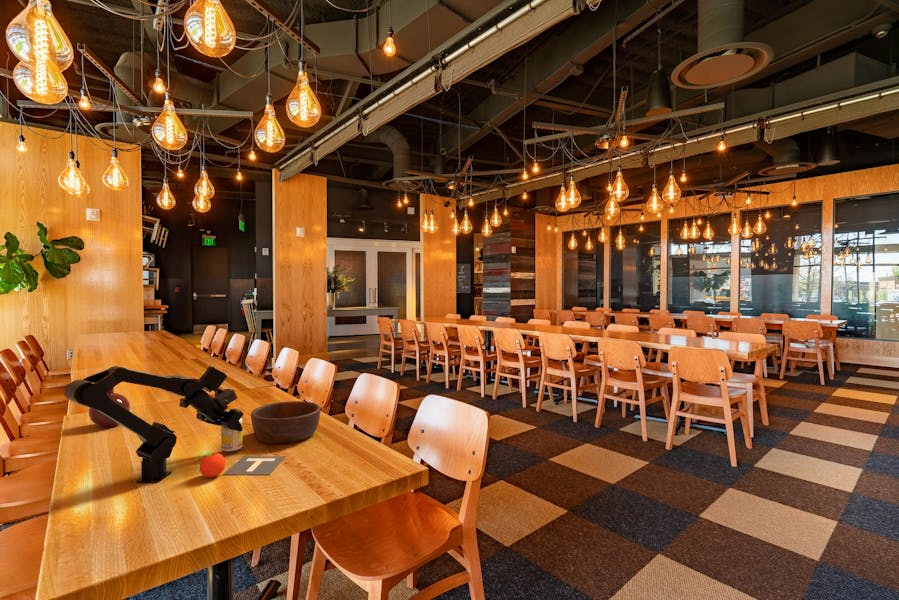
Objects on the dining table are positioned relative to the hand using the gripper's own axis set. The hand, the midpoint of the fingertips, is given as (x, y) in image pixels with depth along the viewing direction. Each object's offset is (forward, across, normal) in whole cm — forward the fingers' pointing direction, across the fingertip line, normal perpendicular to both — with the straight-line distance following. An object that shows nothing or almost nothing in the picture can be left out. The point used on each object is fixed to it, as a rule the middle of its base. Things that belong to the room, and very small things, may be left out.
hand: (235, 428), depth 149 cm
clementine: (-6, -13, +17) cm, 23 cm away
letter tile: (+2, -17, +9) cm, 20 cm away
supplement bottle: (+4, 0, +6) cm, 7 cm away
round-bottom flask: (-2, +66, +14) cm, 68 cm away
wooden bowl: (+19, -2, -8) cm, 21 cm away
